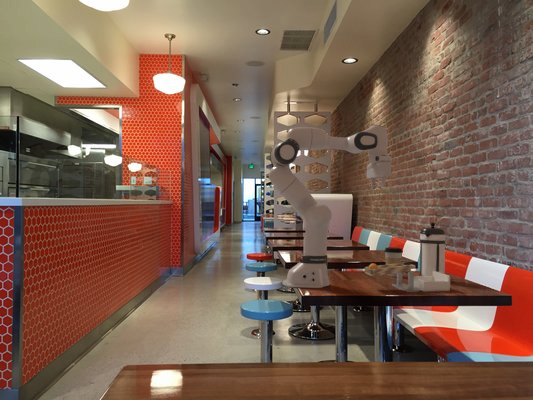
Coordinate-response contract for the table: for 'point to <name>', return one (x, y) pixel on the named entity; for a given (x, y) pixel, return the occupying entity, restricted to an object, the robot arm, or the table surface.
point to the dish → (433, 282)
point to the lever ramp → (390, 269)
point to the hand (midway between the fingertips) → (377, 187)
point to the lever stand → (404, 286)
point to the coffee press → (432, 250)
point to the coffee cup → (393, 257)
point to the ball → (373, 266)
